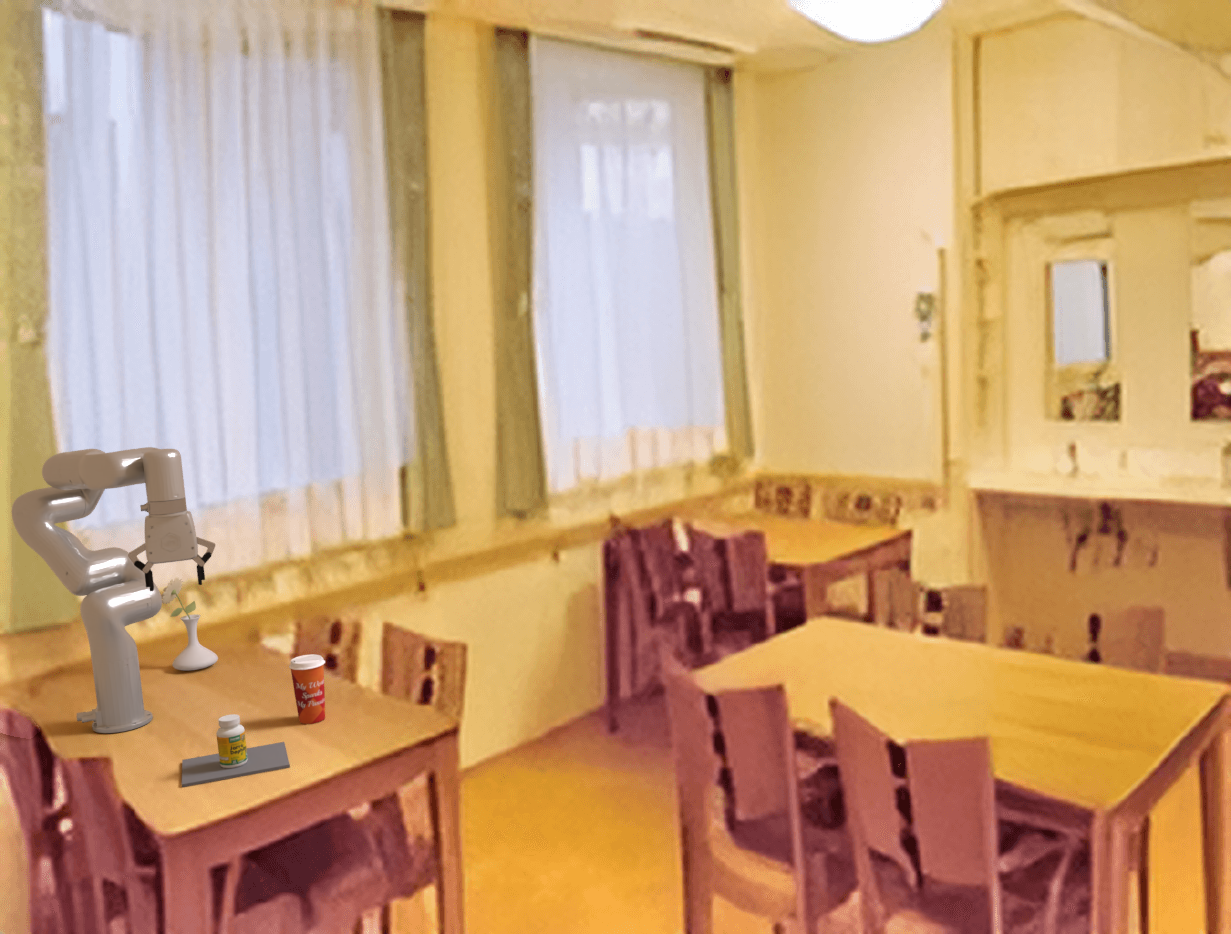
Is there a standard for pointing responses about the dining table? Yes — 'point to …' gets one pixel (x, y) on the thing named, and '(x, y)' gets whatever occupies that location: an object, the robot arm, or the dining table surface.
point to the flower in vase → (194, 652)
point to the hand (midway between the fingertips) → (176, 587)
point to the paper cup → (309, 687)
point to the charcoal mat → (257, 762)
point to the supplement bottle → (231, 742)
